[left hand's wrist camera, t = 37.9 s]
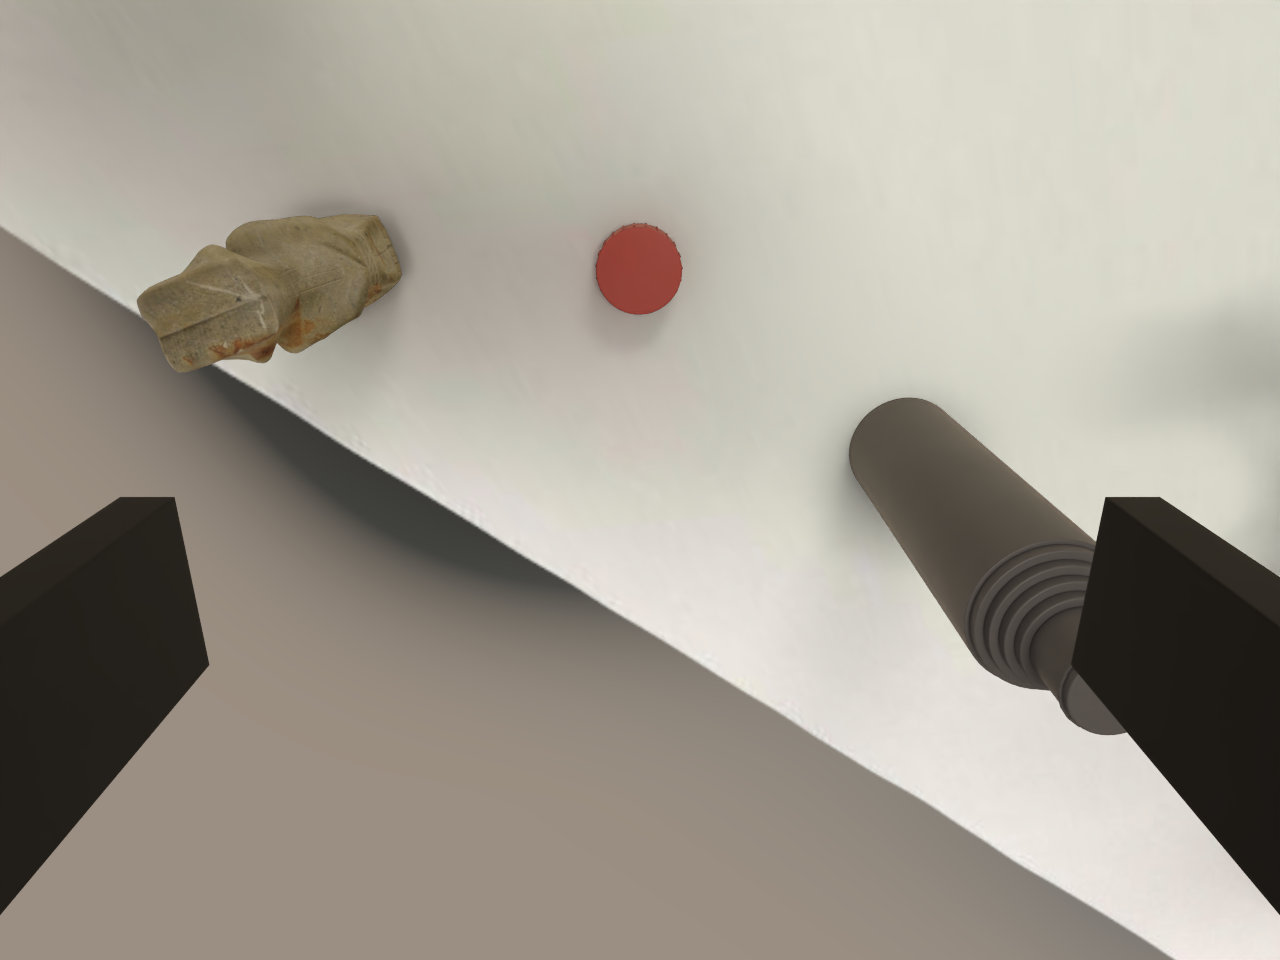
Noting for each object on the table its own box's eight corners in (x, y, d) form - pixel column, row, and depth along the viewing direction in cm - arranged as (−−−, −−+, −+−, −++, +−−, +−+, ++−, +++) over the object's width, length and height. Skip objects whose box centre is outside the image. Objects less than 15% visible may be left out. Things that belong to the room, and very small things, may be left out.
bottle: (979, 441, 51) (1258, 682, 28) (902, 518, 52) (1106, 804, 29) (903, 375, 49) (1131, 571, 26) (826, 457, 51) (979, 707, 28)
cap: (666, 210, 46) (667, 213, 44) (691, 292, 47) (694, 299, 45) (585, 238, 46) (583, 242, 44) (613, 318, 48) (611, 326, 46)
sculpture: (261, 226, 46) (95, 260, 32) (388, 189, 45) (275, 206, 31) (304, 331, 48) (166, 406, 34) (426, 297, 47) (337, 359, 33)
